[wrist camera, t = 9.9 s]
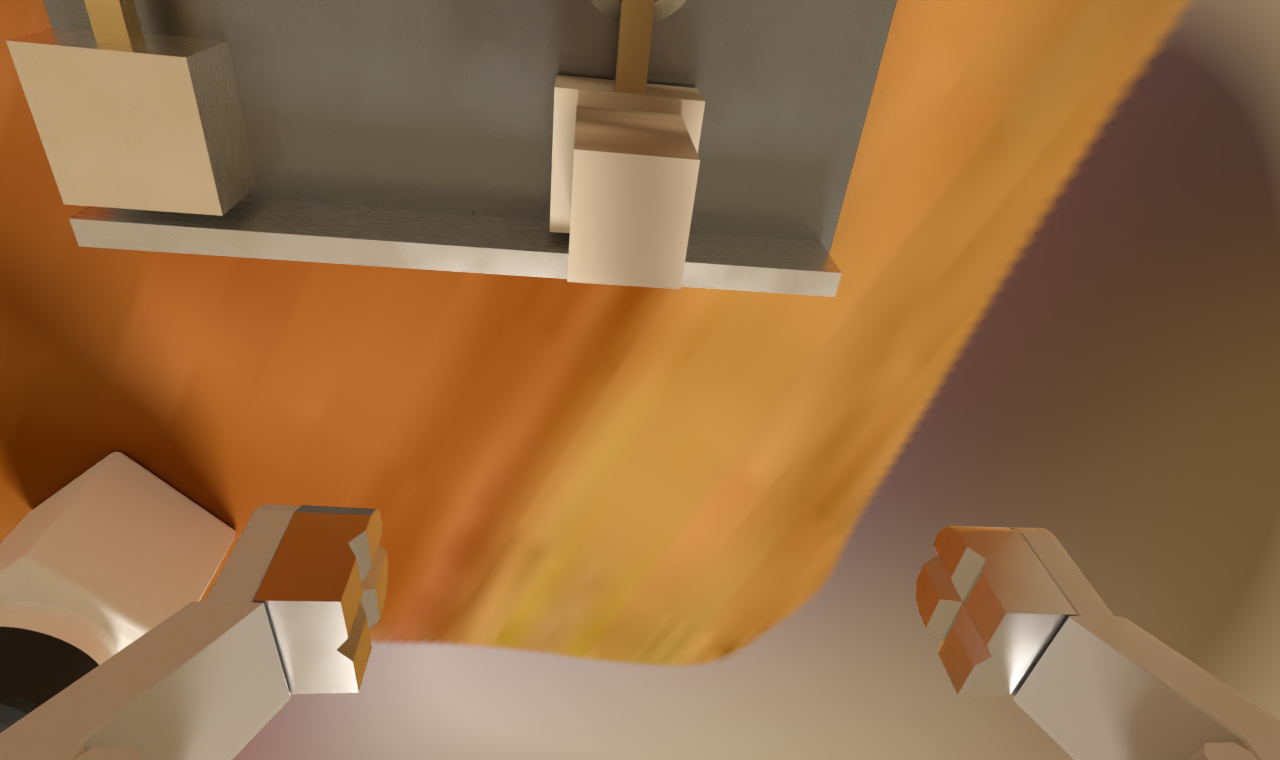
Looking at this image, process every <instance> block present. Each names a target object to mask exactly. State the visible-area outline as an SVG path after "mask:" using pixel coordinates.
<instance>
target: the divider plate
mask: <svg viewBox="0 0 1280 760" xmlns="http://www.w3.org/2000/svg"><path fill="white" fill-rule="evenodd" d="M896 2H897V0H655V4H654V14H653V24H652V34H651V44H650V54H649V64H648V74H647V83H648V84H658V85H668V86H679V87H689V88H698V90H699V91H700V93H701V95H702V97H703V98H704V100H705V107H704V114H703V121H702V128H701V134H700V141H699V148H698V156H699V158H700V165H699V172H698V178H697V185H696V192H695V198H694V205H693V212H692V219H691V225H690V232H689V239H688V245H687V252H686V259H685V266H684V272H683V279H682V286H681V287H695V288H710V289H725V290H740V291H755V292H770V293H785V294H800V295H815V296H830V297H835V295H836V292H837V288H838V285H839V281H840V278H841V274H842V273H841V271H840V270H839V268H838V267H837V265H836V264H835V262H834V261H833V259H832V258H831V256H830V255H829V252H830V249H831V245H832V241H833V237H834V234H835V230H836V226H837V223H838V219H839V215H840V211H841V208H842V204H843V200H844V196H845V193H846V189H847V185H848V182H849V178H850V174H851V170H852V167H853V163H854V159H855V155H856V152H857V148H858V144H859V140H860V137H861V133H862V129H863V126H864V122H865V118H866V114H867V111H868V107H869V103H870V99H871V96H872V92H873V88H874V85H875V81H876V77H877V73H878V70H879V66H880V62H881V58H882V55H883V51H884V47H885V43H886V40H887V36H888V32H889V29H890V25H891V21H892V17H893V14H894V10H895V6H896ZM44 3H45V6H46V9H47V13H48V16H49V19H50V22H51V25H52V28H53V29H51V30H47V31H43V32H39V33H35V34H31V35H26V36H22V37H18V38H14V39H10V40H6V42H7V45H8V48H9V51H10V54H11V56H12V59H13V62H14V65H15V68H16V70H17V73H18V76H19V79H20V82H21V85H22V87H23V90H24V93H25V96H26V99H27V101H28V104H29V107H30V110H31V113H32V115H33V118H34V121H35V124H36V127H37V130H38V132H39V135H40V138H41V141H42V144H43V146H44V149H45V152H46V155H47V158H48V161H49V163H50V166H51V169H52V172H53V175H54V177H55V180H56V183H57V186H58V189H59V192H60V194H61V197H62V200H63V203H64V204H67V205H80V206H89V207H87V208H86V209H84V210H82V211H81V212H79V213H77V214H76V215H74V216H73V217H71V218H69V220H70V222H71V225H72V228H73V231H74V234H75V237H76V239H77V242H78V245H79V246H82V247H97V248H112V249H127V250H142V251H157V252H172V253H187V254H202V255H217V256H232V257H247V258H262V259H276V260H291V261H306V262H321V263H336V264H351V265H366V266H381V267H396V268H411V269H426V270H441V271H456V272H471V273H486V274H501V275H516V276H531V277H546V278H561V279H567V277H568V258H569V238H570V233H559V232H550V202H551V173H552V144H553V115H554V87H555V82H556V76H557V75H565V76H575V77H586V78H596V79H606V80H615V76H616V64H617V51H618V38H619V25H620V12H621V0H44Z"/></svg>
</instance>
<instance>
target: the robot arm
mask: <svg viewBox="0 0 1280 760" xmlns="http://www.w3.org/2000/svg"><path fill="white" fill-rule="evenodd" d="M382 531H383V525H382V519H381V513H380V511H378V510H376V509H363V508H345V507H326V506H308V505H302V506H294V505H276V504H262V505H261V506H260V507H259V508H257V509H256V510H255V511H254V512H253V513H252V515H251V517H250V519H249V521H248V523H247V524H246V526H245V528H244V530H243V532H242V534H241V535H240V537H239V539H238V541H237V543H236V545H235V546H234V548H233V550H232V552H231V554H230V556H229V557H228V559H227V561H226V563H225V565H224V567H223V568H222V570H221V572H220V574H219V576H218V578H217V579H216V581H215V583H214V585H213V587H212V589H211V590H210V592H209V594H208V596H207V598H206V600H205V601H204V602H191V603H189V604H188V605H186V606H185V607H183V608H182V609H181V610H179V611H178V612H176V613H175V614H173V615H172V616H170V617H169V618H167V619H166V620H164V621H163V622H162V623H160V624H159V625H157V626H156V627H154V628H153V629H151V630H150V631H148V632H147V633H146V634H144V635H143V636H141V637H140V638H138V639H137V640H135V641H134V642H132V643H131V644H129V645H128V646H127V647H125V648H124V649H122V650H121V651H119V652H118V653H116V654H115V655H113V656H112V657H111V658H109V659H108V660H106V661H105V662H103V663H102V664H100V665H99V666H97V667H96V668H95V669H93V670H92V671H90V672H89V673H87V674H86V675H84V676H83V677H81V678H80V679H78V680H77V681H76V682H74V683H73V684H71V685H70V686H68V687H67V688H65V689H64V690H62V691H61V692H60V693H58V694H57V695H55V696H54V697H52V698H51V699H49V700H48V701H46V702H45V703H44V704H42V705H41V706H39V707H38V708H36V709H35V710H33V711H32V712H30V713H29V714H27V715H26V716H25V717H23V718H22V719H20V720H19V721H17V722H16V723H14V724H13V725H11V726H10V727H9V728H7V729H6V730H4V731H3V732H1V733H0V760H232V759H233V758H234V757H235V756H236V755H237V754H238V753H239V752H240V751H241V750H242V749H243V747H245V745H246V744H247V743H248V742H249V741H250V740H251V739H252V738H253V737H254V736H255V735H256V734H257V733H258V732H259V731H260V730H261V729H262V728H263V727H264V726H265V725H266V724H267V722H269V720H270V719H271V718H272V717H273V716H274V715H275V714H276V713H277V712H278V711H279V710H280V709H281V708H282V707H283V706H284V705H285V704H286V703H287V702H288V701H289V700H290V699H291V696H290V694H314V693H315V694H316V693H357V692H359V690H360V686H361V683H362V679H363V676H364V673H365V669H366V666H367V662H368V659H369V655H370V652H371V648H372V647H371V640H370V634H369V629H370V628H371V627H372V626H373V625H374V624H375V623H376V622H378V621H379V620H380V617H381V613H382V610H383V606H384V602H385V596H386V589H387V582H388V561H387V553H386V551H385V550H384V549H383V548H382V547H381V546H379V545H378V544H379V541H380V538H381V535H382ZM933 545H934V548H935V550H936V552H937V554H938V555H937V556H935V557H934V558H932V559H931V560H929V561H928V562H927V563H925V564H924V565H923V567H922V569H921V572H920V574H919V577H918V579H917V590H916V599H917V604H918V608H919V613H920V615H921V617H922V619H923V622H924V624H925V626H926V628H927V629H929V630H930V631H931V632H932V633H933V634H935V635H936V636H937V637H938V638H939V639H941V640H942V642H941V646H940V649H939V653H938V655H939V657H940V659H941V661H942V663H943V665H944V667H945V669H946V672H947V674H948V676H949V678H950V680H951V682H952V684H953V686H954V689H955V691H956V693H957V694H958V695H978V696H1008V697H1010V696H1011V697H1014V699H1013V700H1014V701H1015V702H1016V703H1017V704H1018V705H1019V706H1020V707H1021V708H1022V709H1023V710H1024V711H1025V712H1026V713H1027V714H1028V715H1029V716H1030V717H1031V718H1032V719H1033V720H1034V721H1035V722H1036V723H1037V724H1038V725H1039V726H1040V727H1042V728H1043V730H1045V731H1046V732H1047V733H1048V734H1049V735H1050V736H1051V737H1052V738H1053V739H1054V740H1055V741H1056V742H1057V743H1058V744H1059V745H1060V746H1061V747H1062V748H1063V749H1064V750H1065V751H1066V752H1067V753H1068V754H1069V755H1070V756H1071V757H1072V758H1073V759H1074V760H1280V720H1279V719H1277V718H1276V717H1274V716H1273V715H1271V714H1270V713H1268V712H1267V711H1265V710H1264V709H1262V708H1261V707H1259V706H1257V705H1256V704H1255V703H1253V702H1252V701H1250V700H1248V699H1247V698H1246V697H1244V696H1243V695H1241V694H1239V693H1238V692H1236V691H1235V690H1233V689H1232V688H1230V687H1229V686H1227V685H1226V684H1224V683H1223V682H1221V681H1220V680H1218V679H1217V678H1215V677H1214V676H1212V675H1210V674H1209V673H1208V672H1206V671H1204V670H1203V669H1202V668H1200V667H1198V666H1197V665H1196V664H1194V663H1193V662H1191V661H1190V660H1188V659H1187V658H1185V657H1184V656H1182V655H1181V654H1179V653H1177V652H1176V651H1174V650H1173V649H1171V648H1170V647H1168V646H1167V645H1165V644H1164V643H1162V642H1161V641H1159V640H1158V639H1156V638H1155V637H1153V636H1152V635H1150V634H1149V633H1147V632H1146V631H1144V630H1143V629H1141V628H1140V627H1138V626H1136V625H1135V624H1134V623H1132V622H1130V621H1129V620H1128V619H1126V618H1124V617H1114V616H1113V615H1112V613H1111V612H1110V611H1109V609H1108V608H1107V606H1106V605H1105V604H1104V603H1103V601H1102V600H1101V598H1100V597H1099V596H1098V594H1097V593H1096V592H1095V590H1094V589H1093V588H1092V586H1091V585H1090V583H1089V582H1088V581H1087V579H1086V578H1085V577H1084V575H1083V574H1082V573H1081V571H1080V570H1079V568H1078V567H1077V566H1076V564H1075V563H1074V562H1073V560H1072V559H1071V558H1070V556H1069V555H1068V553H1067V552H1066V551H1065V549H1064V548H1063V547H1062V546H1061V544H1060V543H1059V541H1058V540H1057V538H1056V537H1055V536H1054V535H1053V534H1052V533H1051V532H1049V531H1048V530H1046V529H1045V528H1006V527H963V526H962V527H961V526H960V527H959V526H946V527H945V528H944V529H943V530H941V531H940V532H939V533H938V535H937V537H936V539H935V541H934V543H933Z"/></svg>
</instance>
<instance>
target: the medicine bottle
mask: <svg viewBox="0 0 1280 760" xmlns="http://www.w3.org/2000/svg"><path fill="white" fill-rule="evenodd" d="M235 535H236V533H235V531H234V530H233V529H232V528H231V527H229V526H228V525H226V524H225V523H224V522H222V521H221V520H219V519H218V518H216V517H215V516H213V515H212V514H210V513H209V512H207V511H206V510H205V509H203V508H202V507H200V506H199V505H197V504H196V503H194V502H193V501H191V500H190V499H189V498H187V497H186V496H184V495H183V494H181V493H180V492H178V491H177V490H175V489H174V488H172V487H171V486H170V485H168V484H167V483H165V482H164V481H162V480H161V479H159V478H158V477H156V476H155V475H154V474H152V473H151V472H149V471H148V470H146V469H145V468H143V467H142V466H140V465H139V464H137V463H136V462H135V461H133V460H132V459H130V458H129V457H127V456H126V455H124V454H123V453H121V452H113V453H111V454H109V455H108V456H107V457H105V458H104V459H102V460H101V461H100V462H98V463H97V464H95V465H94V466H93V467H91V468H90V469H89V470H87V471H86V472H84V473H83V474H82V475H80V476H79V477H77V478H76V479H75V480H73V481H72V482H70V483H69V484H68V485H66V486H65V487H64V488H62V489H61V490H59V491H58V492H57V493H55V494H54V495H52V496H51V497H50V498H48V499H47V500H46V501H44V502H43V503H41V504H40V505H39V506H37V507H36V508H34V509H33V510H32V511H30V512H29V513H28V514H27V515H26V516H25V517H24V518H23V519H22V520H21V522H20V523H19V524H18V525H17V526H16V527H15V528H14V529H13V530H12V531H11V532H10V534H9V535H8V536H7V537H6V538H5V539H4V540H3V541H2V542H1V543H0V733H1V732H3V731H4V730H6V729H7V728H9V727H10V726H11V725H13V724H14V723H16V722H17V721H19V720H20V719H22V718H23V717H25V716H26V715H27V714H29V713H30V712H32V711H33V710H35V709H36V708H38V707H39V706H41V705H42V704H44V703H45V702H46V701H48V700H49V699H51V698H52V697H54V696H55V695H57V694H58V693H60V692H61V691H62V690H64V689H65V688H67V687H68V686H70V685H71V684H73V683H74V682H76V681H77V680H78V679H80V678H81V677H83V676H84V675H86V674H87V673H89V672H90V671H92V670H93V669H95V668H96V667H97V666H99V665H100V664H102V663H103V662H105V661H106V660H108V659H109V658H111V657H112V656H113V655H115V654H116V653H118V652H119V651H121V650H122V649H124V648H125V647H127V646H128V645H129V644H131V643H132V642H134V641H135V640H137V639H138V638H140V637H141V636H143V635H144V634H146V633H147V632H148V631H150V630H151V629H153V628H154V627H156V626H157V625H159V624H160V623H162V622H163V621H164V620H166V619H167V618H169V617H170V616H172V615H173V614H175V613H176V612H178V611H179V610H181V609H182V608H183V607H185V606H186V605H188V604H189V603H191V602H199V601H200V599H201V598H202V596H203V594H204V592H205V590H206V589H207V587H208V585H209V583H210V581H211V580H212V578H213V576H214V574H215V572H216V571H217V569H218V567H219V565H220V563H221V562H222V560H223V558H224V556H225V554H226V553H227V551H228V549H229V547H230V545H231V544H232V542H233V540H234V538H235Z"/></svg>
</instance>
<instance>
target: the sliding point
mask: <svg viewBox="0 0 1280 760" xmlns="http://www.w3.org/2000/svg"><path fill="white" fill-rule="evenodd" d="M654 4H655V0H621V12H620V25H619V38H618V51H617V64H616V76H615V80H606V79H596V78H586V77H575V76H565V75H557V76H556V82H555V87H554V115H553V144H552V173H551V202H550V232H559V233H570V238H569V258H568V277H567V282H579V283H594V284H609V285H624V286H639V287H654V288H669V289H681V286H682V279H683V272H684V266H685V259H686V252H687V245H688V239H689V232H690V225H691V219H692V212H693V205H694V198H695V192H696V185H697V178H698V172H699V165H700V158H699V156H698V148H699V141H700V134H701V128H702V121H703V114H704V107H705V100H704V98H703V97H702V95H701V93H700V91H699V90H698V88H689V87H679V86H668V85H658V84H648V83H647V74H648V64H649V54H650V44H651V34H652V24H653V14H654Z"/></svg>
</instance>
